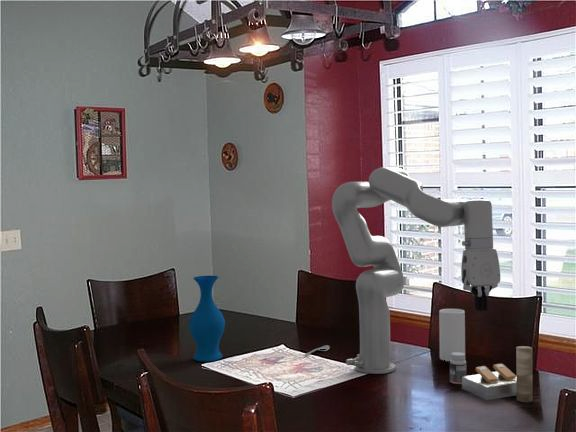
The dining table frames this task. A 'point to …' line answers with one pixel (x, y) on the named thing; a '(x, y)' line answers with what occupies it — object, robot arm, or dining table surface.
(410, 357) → the dining table surface
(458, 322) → the white tall cylinder
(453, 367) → the pill bottle
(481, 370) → the paddle
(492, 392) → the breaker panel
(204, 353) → the vase
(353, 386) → the dining table surface
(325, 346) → the spoon
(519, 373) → the dowel post
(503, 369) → the paddle
